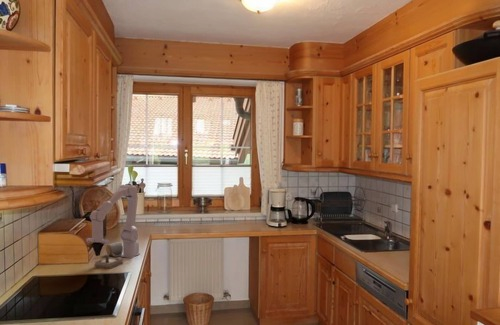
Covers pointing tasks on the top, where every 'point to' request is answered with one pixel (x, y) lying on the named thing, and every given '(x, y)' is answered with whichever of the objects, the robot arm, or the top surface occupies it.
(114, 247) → the ceramic mug
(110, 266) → the dial plate
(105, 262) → the dial
